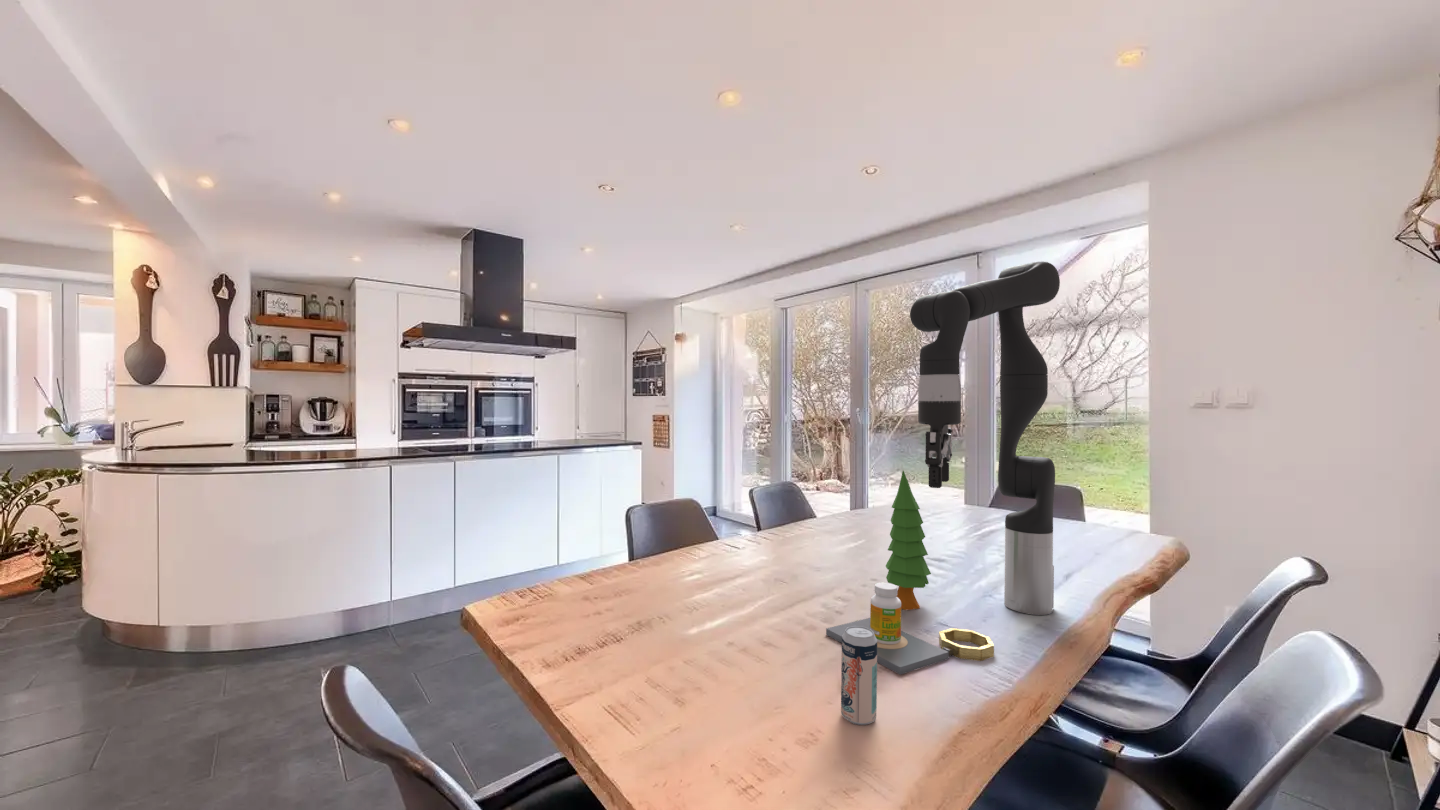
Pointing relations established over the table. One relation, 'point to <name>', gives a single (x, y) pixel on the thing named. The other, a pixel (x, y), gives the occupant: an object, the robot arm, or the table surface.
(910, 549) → the decorative tree
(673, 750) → the table surface
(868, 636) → the beer can
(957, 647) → the collar
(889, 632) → the supplement bottle
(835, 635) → the board
